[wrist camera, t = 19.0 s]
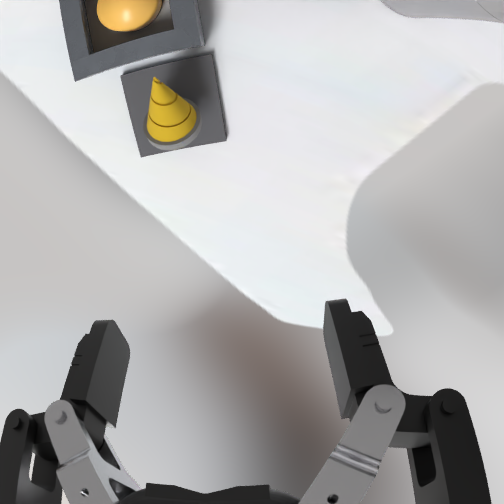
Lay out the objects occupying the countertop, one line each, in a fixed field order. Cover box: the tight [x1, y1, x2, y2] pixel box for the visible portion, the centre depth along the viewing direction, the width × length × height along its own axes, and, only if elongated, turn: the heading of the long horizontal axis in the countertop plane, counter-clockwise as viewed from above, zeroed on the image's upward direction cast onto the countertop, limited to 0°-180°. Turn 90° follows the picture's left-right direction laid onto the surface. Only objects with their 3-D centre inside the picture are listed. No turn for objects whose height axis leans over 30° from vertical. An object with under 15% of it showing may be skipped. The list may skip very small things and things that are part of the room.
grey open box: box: [59, 0, 205, 81], centre depth 21 cm, size 12×12×4 cm
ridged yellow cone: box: [143, 77, 202, 150], centre depth 25 cm, size 5×5×10 cm
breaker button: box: [97, 0, 162, 31], centre depth 21 cm, size 6×6×2 cm
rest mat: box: [121, 54, 226, 157], centre depth 28 cm, size 9×9×1 cm
